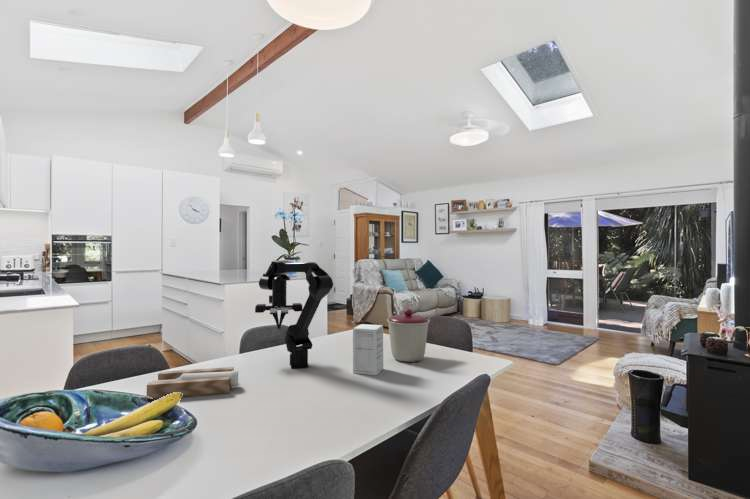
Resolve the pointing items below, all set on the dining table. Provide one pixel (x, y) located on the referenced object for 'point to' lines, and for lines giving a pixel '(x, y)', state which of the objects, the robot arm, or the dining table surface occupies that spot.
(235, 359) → the dining table surface
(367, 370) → the supplement box
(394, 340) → the canister
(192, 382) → the u rest
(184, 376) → the bottle
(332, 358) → the dining table surface
